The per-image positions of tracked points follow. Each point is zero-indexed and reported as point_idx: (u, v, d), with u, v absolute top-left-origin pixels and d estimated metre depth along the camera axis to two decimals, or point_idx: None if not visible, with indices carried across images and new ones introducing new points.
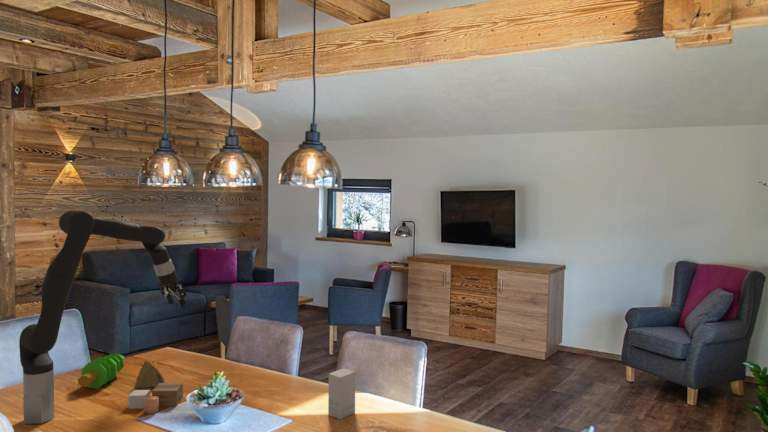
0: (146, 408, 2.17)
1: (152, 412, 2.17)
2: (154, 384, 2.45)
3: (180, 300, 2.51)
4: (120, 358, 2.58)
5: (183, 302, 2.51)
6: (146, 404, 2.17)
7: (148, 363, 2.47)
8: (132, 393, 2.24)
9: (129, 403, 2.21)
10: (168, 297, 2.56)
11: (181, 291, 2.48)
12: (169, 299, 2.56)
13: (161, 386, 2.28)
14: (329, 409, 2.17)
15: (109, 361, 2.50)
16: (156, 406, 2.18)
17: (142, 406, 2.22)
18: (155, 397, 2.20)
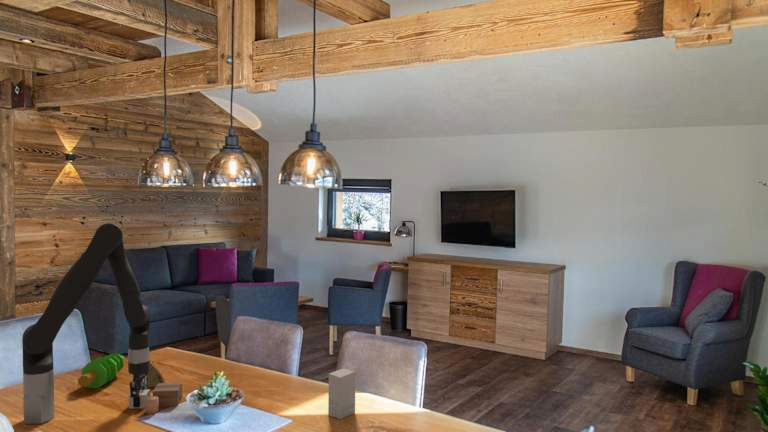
0: (146, 408, 2.17)
1: (152, 412, 2.17)
2: (154, 384, 2.45)
3: None
4: (120, 358, 2.58)
5: (135, 402, 2.20)
6: (146, 404, 2.17)
7: None
8: None
9: (129, 403, 2.22)
10: None
11: (132, 389, 2.18)
12: None
13: (161, 387, 2.28)
14: (329, 409, 2.17)
15: (109, 361, 2.50)
16: (156, 406, 2.18)
17: (142, 406, 2.22)
18: (155, 397, 2.20)
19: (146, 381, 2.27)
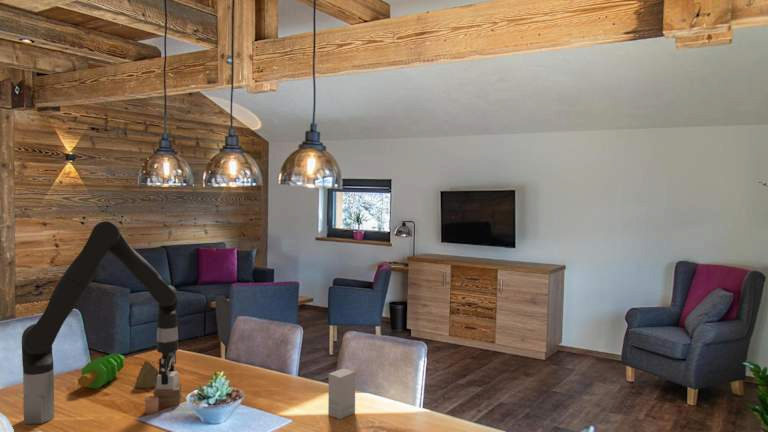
0: (146, 408, 2.17)
1: (152, 412, 2.17)
2: (154, 384, 2.45)
3: None
4: (120, 358, 2.58)
5: (163, 379, 2.23)
6: (146, 404, 2.17)
7: (148, 363, 2.47)
8: None
9: (158, 383, 2.26)
10: (169, 368, 2.32)
11: (161, 366, 2.21)
12: None
13: None
14: (329, 409, 2.17)
15: (109, 361, 2.50)
16: (156, 406, 2.18)
17: (170, 387, 2.26)
18: (155, 397, 2.20)
19: (174, 359, 2.31)
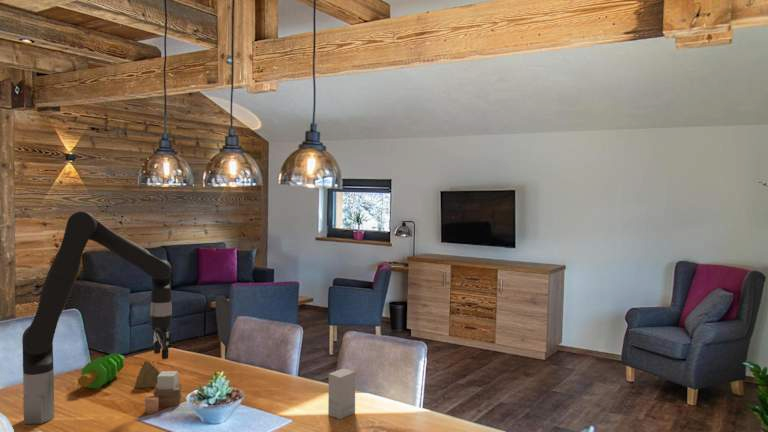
0: (146, 408, 2.17)
1: (152, 412, 2.17)
2: (154, 384, 2.45)
3: (163, 350, 2.22)
4: (120, 358, 2.58)
5: (165, 354, 2.21)
6: (146, 404, 2.17)
7: (148, 363, 2.47)
8: (161, 374, 2.28)
9: (158, 384, 2.25)
10: (156, 345, 2.28)
11: (166, 340, 2.20)
12: (156, 347, 2.28)
13: None
14: (329, 409, 2.17)
15: (109, 361, 2.50)
16: (156, 406, 2.18)
17: (171, 387, 2.26)
18: (155, 397, 2.20)
19: None
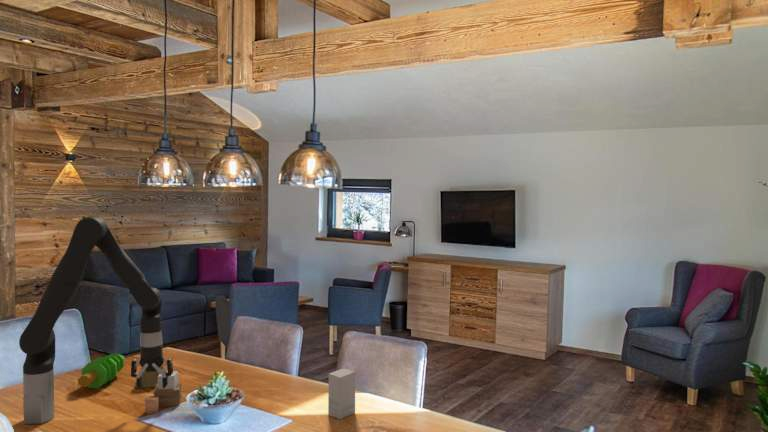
0: (146, 408, 2.17)
1: (152, 412, 2.17)
2: (154, 384, 2.45)
3: (164, 378, 2.18)
4: (120, 358, 2.58)
5: (167, 381, 2.18)
6: (146, 404, 2.17)
7: None
8: None
9: (158, 384, 2.25)
10: (140, 379, 2.17)
11: (171, 366, 2.18)
12: (140, 381, 2.17)
13: None
14: (329, 409, 2.17)
15: (109, 361, 2.50)
16: (156, 406, 2.18)
17: (171, 387, 2.26)
18: (155, 397, 2.20)
19: None
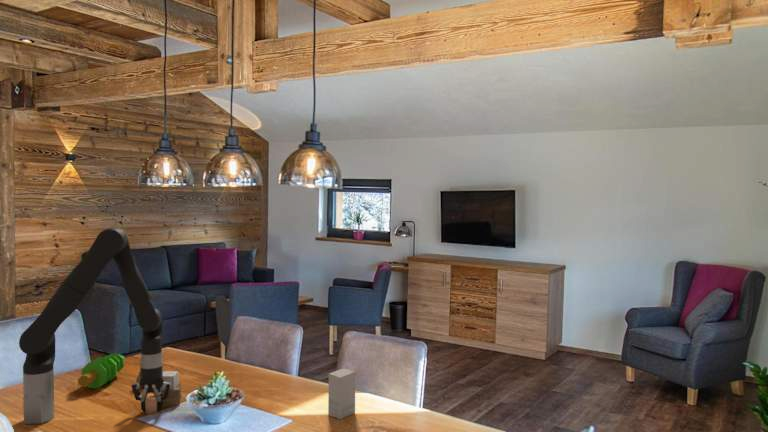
0: (146, 408, 2.17)
1: (152, 412, 2.17)
2: None
3: (159, 402, 2.18)
4: (120, 358, 2.58)
5: (161, 405, 2.19)
6: (146, 404, 2.17)
7: None
8: None
9: None
10: (144, 402, 2.18)
11: (168, 391, 2.19)
12: None
13: None
14: (329, 409, 2.17)
15: (109, 361, 2.50)
16: (156, 406, 2.18)
17: (171, 387, 2.26)
18: (155, 396, 2.20)
19: None
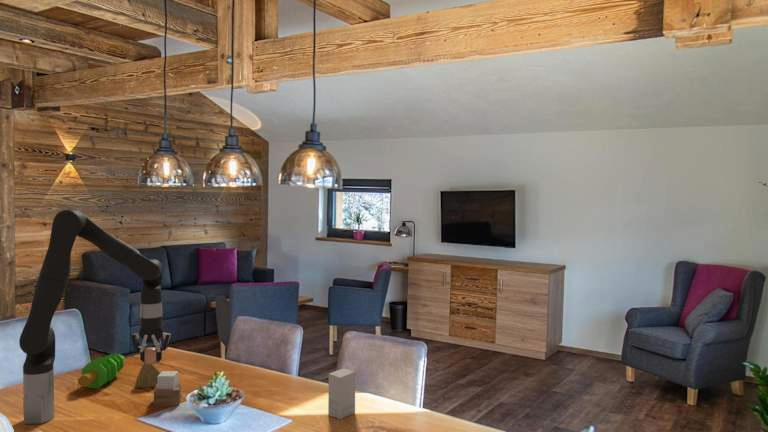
0: (145, 358, 2.16)
1: (151, 362, 2.16)
2: (154, 384, 2.45)
3: (158, 353, 2.17)
4: (120, 358, 2.58)
5: (161, 356, 2.18)
6: (145, 354, 2.16)
7: None
8: (161, 373, 2.28)
9: (158, 383, 2.26)
10: None
11: (168, 341, 2.18)
12: None
13: None
14: (329, 409, 2.17)
15: (109, 361, 2.50)
16: (155, 356, 2.17)
17: (171, 387, 2.26)
18: (154, 347, 2.19)
19: None
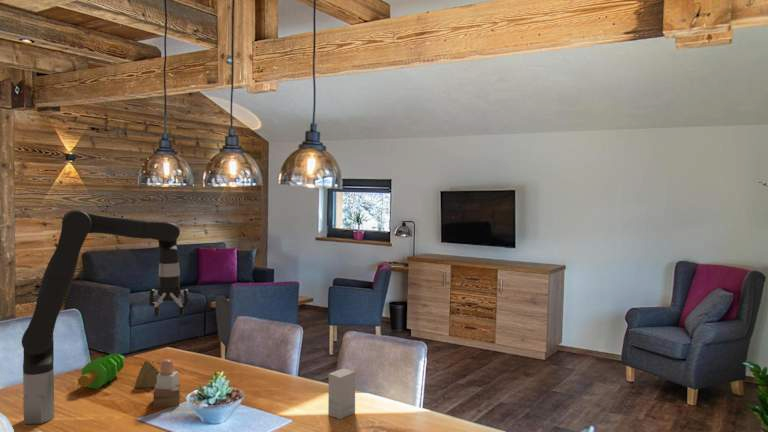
0: (161, 370, 2.27)
1: (167, 373, 2.27)
2: (154, 384, 2.45)
3: (181, 308, 2.30)
4: (120, 358, 2.58)
5: (183, 311, 2.30)
6: (161, 366, 2.27)
7: (148, 363, 2.47)
8: None
9: (157, 383, 2.26)
10: (158, 308, 2.29)
11: (187, 296, 2.30)
12: (158, 310, 2.29)
13: None
14: (329, 409, 2.17)
15: (109, 361, 2.50)
16: (171, 368, 2.27)
17: (169, 387, 2.26)
18: (170, 359, 2.30)
19: None
